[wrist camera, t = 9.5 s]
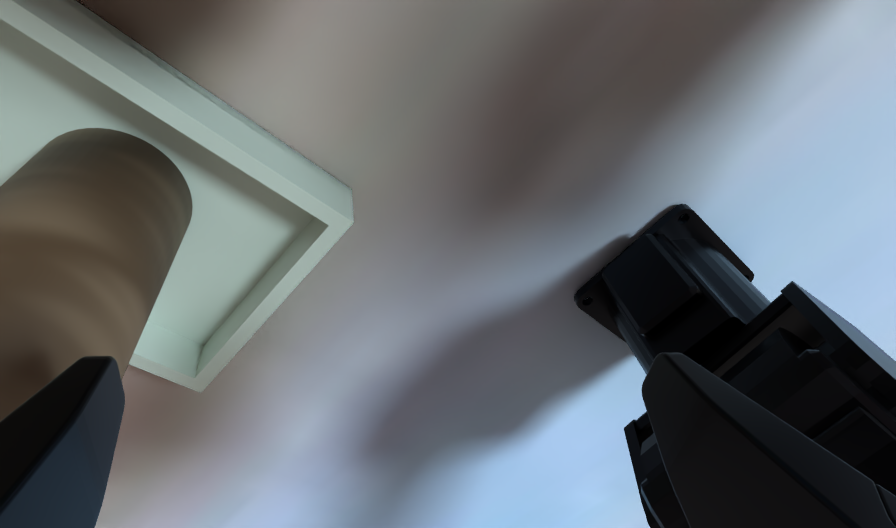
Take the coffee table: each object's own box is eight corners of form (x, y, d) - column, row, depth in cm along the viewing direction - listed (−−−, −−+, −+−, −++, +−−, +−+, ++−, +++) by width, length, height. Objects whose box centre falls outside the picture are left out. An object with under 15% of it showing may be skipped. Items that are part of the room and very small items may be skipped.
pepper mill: (220, 187, 20) (34, 671, 8) (147, 280, 22) (-102, 802, 9) (74, 96, 18) (-519, 585, 6) (4, 207, 19) (-577, 779, 7)
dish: (351, 189, 22) (353, 222, 20) (211, 350, 25) (201, 393, 23) (-37, -77, 15) (-92, -68, 13) (-157, 186, 19) (-216, 225, 17)
